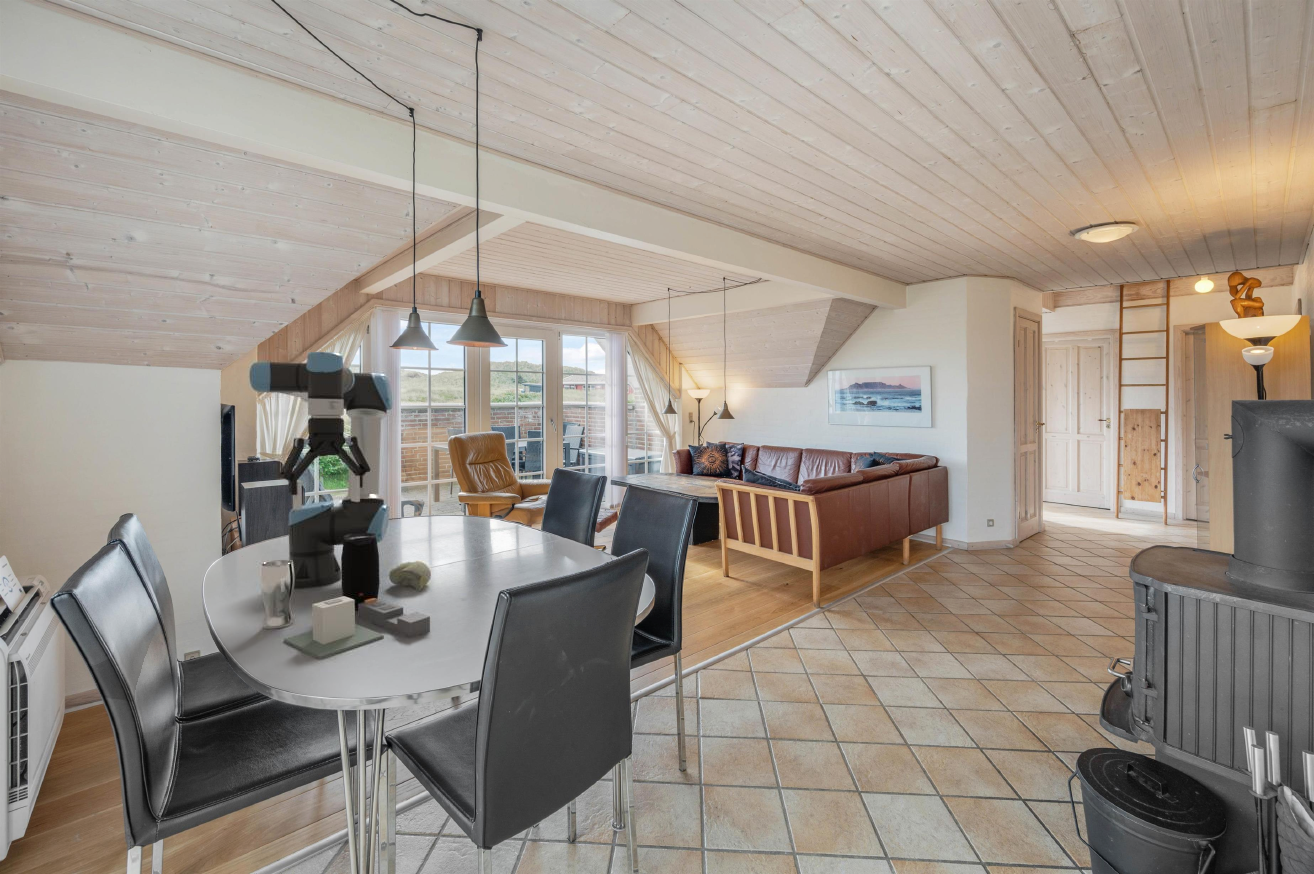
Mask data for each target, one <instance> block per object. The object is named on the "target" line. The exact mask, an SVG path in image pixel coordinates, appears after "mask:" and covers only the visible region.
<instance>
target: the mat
mask: <svg viewBox="0 0 1314 874" xmlns="http://www.w3.org/2000/svg"><path fill="white" fill-rule="evenodd" d="M384 638H385V635H384V634H382V633H379V632H376V631H375V630H372V629H369V628H366V627H364V626H362V625H359V624H357V623H355V634H354V635H351V636H348V637H345V638H342V639H339V640H336V641H332V642H329V643H326V644H321V643H319V642H317V641H315V640H313V629H312V630H309V631H306V632H301V633H298V634H295V635H292V636H289V637H286V638H285V637H284V638H283V642H284V643H286V644H288V645H290V646H292V647H294V648H297V649H298V650H300V651H302V652H304V653H306V654H308V655H310V656H312V657H314V658H316V659H319V660H322V659H325V658H328V657H331V656H334V655H337V654H341V653H342V652H345V651H346V652H347V651H349V650H353V649H354V648H357V647H361V646H363V645H367V644H369V643H372V642H375V641H378V640H381V639H384Z"/></svg>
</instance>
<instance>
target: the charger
mask: <svg viewBox="0 0 1314 874" xmlns="http://www.w3.org/2000/svg"><path fill="white" fill-rule="evenodd" d="M311 609H312V630H313V640H315V641H317V642H319V643H321V644H326V643H329V642H332V641H336V640H339V639H342V638H345V637H348V636H351V635H354V634H355V624H356V617H355V616H356V611H355V600H354V599H351V598H348V597H345V596H343V595H342V596H339V597H334V598H331V599H327V600H324V601H323V600H322V601H320V602H316V603H312V608H311Z"/></svg>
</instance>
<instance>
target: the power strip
mask: <svg viewBox="0 0 1314 874" xmlns="http://www.w3.org/2000/svg"><path fill="white" fill-rule="evenodd" d="M357 609H358V611H357V612H358V619H362V620H364V621H366V622H368V623H372V624H374V625H376V626H379V627H381V628H384V629H387V630H390V631H392V632H394V633H397V634H399V635H402V636H404V637H405V636H406V637H407V638H414V637H417V636H420V635H422V634H425V633H428V632H431V616H429V615H427V614H424V613H420V612H418V611H414V612H412V613H408V614H406V613H404V607H403V606H401V605H398V604H394V603H392V602H390V601H385V600H383V599H380V598H378V599H375V598H372V599H368V600H365V602H363V603H359V604H358V608H357Z"/></svg>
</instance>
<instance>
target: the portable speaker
mask: <svg viewBox="0 0 1314 874" xmlns="http://www.w3.org/2000/svg"><path fill="white" fill-rule="evenodd" d="M340 563H341V564H340V569H341V578H340V580H341V593H342V596H345V597H348V598H351V599H354V600H355V609H358V604H359V603H363V602H365V600H368V599H372V598H375V599H379V591H380V590H379V589H380V553H379V547H378V543H377V539H376V534H375V533H372V532H367V533H364V534H357V535H352V534H348V535H345V536H344V543H343V545H342V551H341V558H340Z"/></svg>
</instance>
